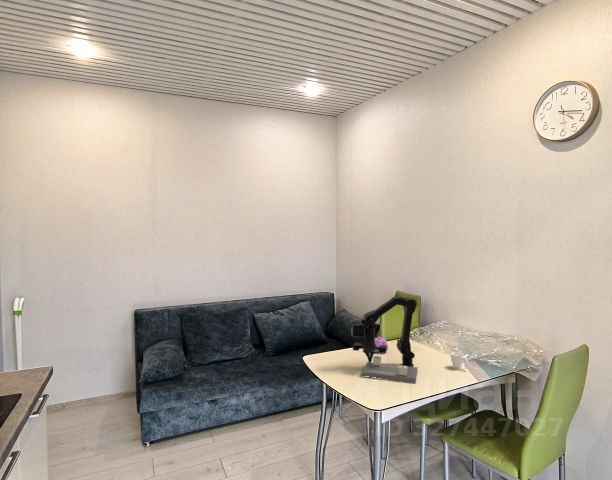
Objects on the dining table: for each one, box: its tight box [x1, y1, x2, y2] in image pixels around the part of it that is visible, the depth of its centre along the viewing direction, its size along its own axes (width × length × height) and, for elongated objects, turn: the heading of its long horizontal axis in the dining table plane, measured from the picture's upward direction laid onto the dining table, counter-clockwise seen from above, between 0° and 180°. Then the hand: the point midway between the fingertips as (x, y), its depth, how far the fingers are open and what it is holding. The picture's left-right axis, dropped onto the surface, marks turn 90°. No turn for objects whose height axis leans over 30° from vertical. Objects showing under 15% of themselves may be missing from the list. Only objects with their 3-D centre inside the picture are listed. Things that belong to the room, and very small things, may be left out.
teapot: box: [375, 336, 389, 354], centre depth 239 cm, size 10×15×9 cm
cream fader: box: [372, 355, 382, 366], centre depth 208 cm, size 3×4×4 cm
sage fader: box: [399, 364, 407, 376], centre depth 194 cm, size 3×4×4 cm
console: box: [361, 361, 419, 384], centre depth 201 cm, size 16×28×3 cm, turn 70°
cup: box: [450, 351, 469, 371], centre depth 207 cm, size 7×10×8 cm
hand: (370, 362), depth 210 cm, fingers closed
